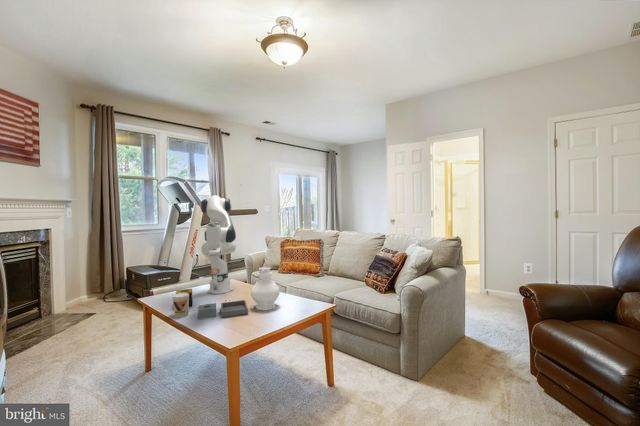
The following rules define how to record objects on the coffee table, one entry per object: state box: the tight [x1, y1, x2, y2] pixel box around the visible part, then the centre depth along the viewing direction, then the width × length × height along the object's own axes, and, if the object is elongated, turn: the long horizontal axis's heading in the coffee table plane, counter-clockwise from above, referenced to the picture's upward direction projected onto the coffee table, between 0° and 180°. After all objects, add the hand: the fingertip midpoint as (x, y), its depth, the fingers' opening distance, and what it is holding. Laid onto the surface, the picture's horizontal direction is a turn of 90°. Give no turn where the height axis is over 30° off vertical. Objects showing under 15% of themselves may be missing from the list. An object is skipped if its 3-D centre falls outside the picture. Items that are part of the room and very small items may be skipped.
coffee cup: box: [172, 293, 190, 318], centre depth 185 cm, size 9×9×12 cm
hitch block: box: [197, 302, 217, 320], centre depth 183 cm, size 10×10×5 cm
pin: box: [210, 268, 220, 290], centre depth 185 cm, size 2×5×12 cm, turn 108°
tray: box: [220, 299, 249, 319], centre depth 188 cm, size 18×15×4 cm
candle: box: [174, 288, 194, 308], centre depth 201 cm, size 10×10×10 cm
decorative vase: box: [250, 266, 280, 311], centre depth 195 cm, size 18×18×25 cm
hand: (215, 272), depth 184 cm, fingers closed on pin, 2 cm apart
